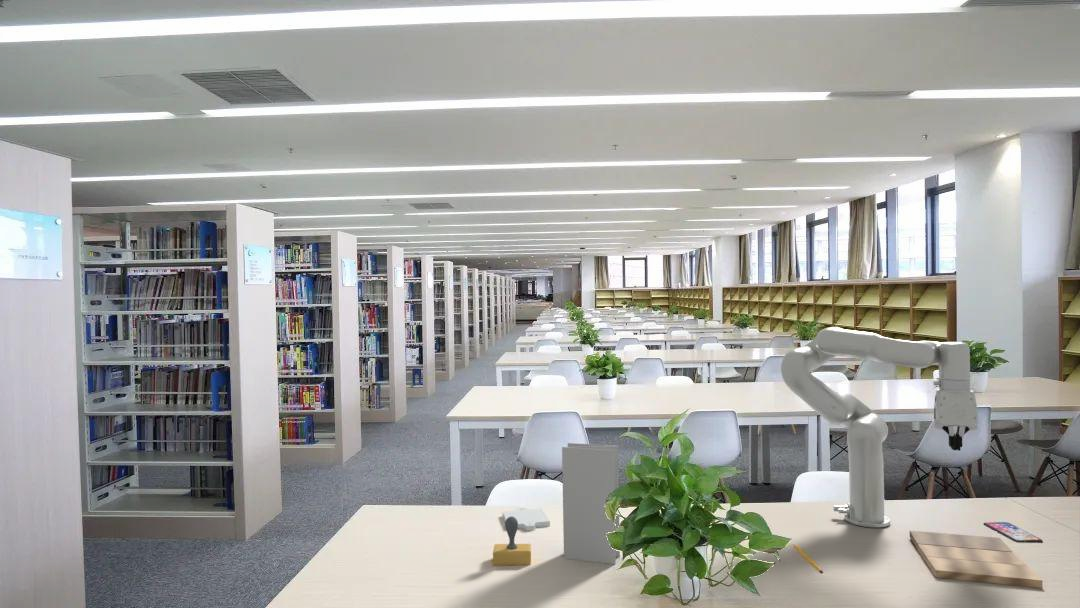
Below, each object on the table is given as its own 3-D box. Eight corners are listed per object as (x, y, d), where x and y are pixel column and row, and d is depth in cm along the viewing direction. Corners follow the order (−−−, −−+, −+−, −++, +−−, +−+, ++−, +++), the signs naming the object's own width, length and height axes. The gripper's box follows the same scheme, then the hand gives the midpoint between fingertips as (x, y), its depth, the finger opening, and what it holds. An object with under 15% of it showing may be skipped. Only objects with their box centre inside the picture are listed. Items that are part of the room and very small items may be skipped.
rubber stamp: (493, 566, 171) (492, 520, 171) (494, 557, 177) (493, 513, 177) (530, 565, 171) (529, 520, 171) (531, 556, 177) (530, 512, 177)
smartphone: (1016, 540, 181) (982, 522, 196) (1016, 544, 181) (982, 525, 196) (1044, 540, 180) (1008, 521, 195) (1044, 543, 180) (1008, 525, 195)
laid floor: (935, 577, 159) (935, 570, 159) (917, 550, 176) (917, 544, 176) (1042, 588, 152) (1042, 580, 152) (1013, 559, 169) (1012, 552, 169)
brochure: (620, 556, 176) (618, 445, 175) (615, 564, 170) (613, 450, 170) (569, 550, 180) (567, 442, 180) (563, 558, 175) (562, 447, 175)
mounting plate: (501, 515, 213) (501, 509, 213) (540, 511, 216) (539, 506, 216) (509, 533, 195) (509, 527, 195) (551, 530, 198) (551, 523, 198)
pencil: (820, 573, 163) (820, 571, 163) (791, 545, 182) (791, 542, 182) (823, 573, 163) (823, 571, 163) (794, 545, 182) (794, 542, 182)
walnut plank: (917, 549, 176) (917, 543, 176) (909, 536, 185) (909, 530, 185) (1012, 558, 170) (1012, 551, 170) (999, 544, 178) (999, 537, 178)
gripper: (928, 386, 184) (929, 451, 184) (989, 387, 179) (990, 453, 179) (921, 383, 191) (922, 445, 191) (980, 384, 187) (981, 448, 187)
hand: (955, 449), depth 185 cm, fingers closed
